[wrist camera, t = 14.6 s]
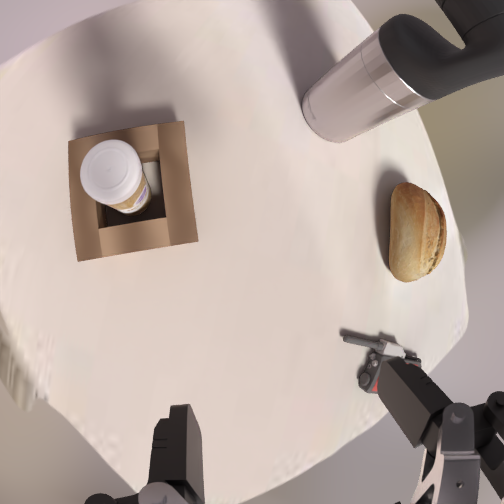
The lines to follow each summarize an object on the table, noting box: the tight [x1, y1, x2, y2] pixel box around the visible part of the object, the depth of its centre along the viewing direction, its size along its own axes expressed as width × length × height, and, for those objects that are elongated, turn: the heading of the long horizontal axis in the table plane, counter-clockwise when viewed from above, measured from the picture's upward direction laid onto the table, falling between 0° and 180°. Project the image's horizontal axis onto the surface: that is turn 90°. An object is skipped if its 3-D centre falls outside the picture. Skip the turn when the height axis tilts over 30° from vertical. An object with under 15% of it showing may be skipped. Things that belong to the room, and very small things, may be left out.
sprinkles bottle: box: [80, 140, 151, 216], centre depth 24 cm, size 5×5×14 cm
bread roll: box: [389, 182, 447, 282], centre depth 37 cm, size 10×15×8 cm, turn 2°
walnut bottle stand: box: [68, 121, 198, 262], centre depth 28 cm, size 13×13×4 cm
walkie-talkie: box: [343, 335, 421, 394], centre depth 39 cm, size 9×4×20 cm
